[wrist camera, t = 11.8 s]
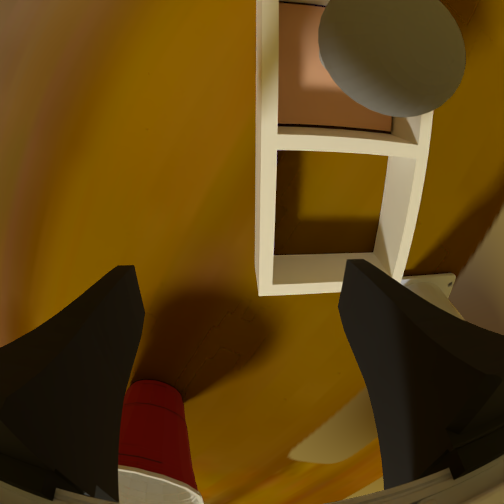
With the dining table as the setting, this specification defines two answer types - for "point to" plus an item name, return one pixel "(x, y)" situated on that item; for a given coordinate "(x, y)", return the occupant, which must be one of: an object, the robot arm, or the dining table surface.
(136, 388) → the plastic cup
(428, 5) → the light bulb
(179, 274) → the dining table surface
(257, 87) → the rack
